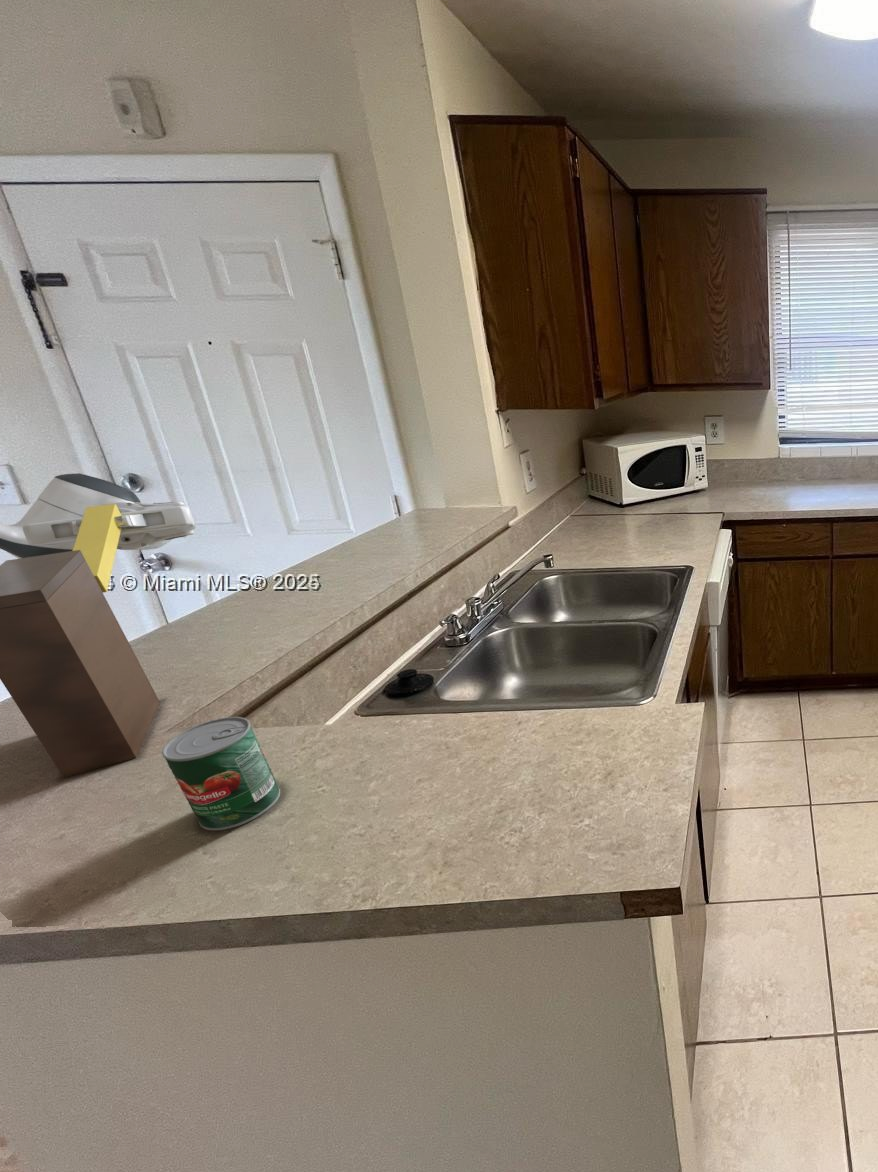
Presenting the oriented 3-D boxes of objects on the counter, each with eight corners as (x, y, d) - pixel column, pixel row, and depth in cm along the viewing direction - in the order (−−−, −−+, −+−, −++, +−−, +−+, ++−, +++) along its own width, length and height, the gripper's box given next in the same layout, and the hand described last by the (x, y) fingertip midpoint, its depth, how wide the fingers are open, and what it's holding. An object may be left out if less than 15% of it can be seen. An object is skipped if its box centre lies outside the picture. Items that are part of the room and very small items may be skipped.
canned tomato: (192, 840, 72) (151, 768, 67) (207, 799, 78) (170, 730, 74) (277, 814, 76) (244, 743, 71) (284, 776, 82) (254, 709, 77)
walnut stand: (63, 777, 81) (-49, 604, 71) (97, 717, 93) (5, 560, 82) (136, 757, 85) (40, 589, 74) (160, 701, 97) (80, 549, 86)
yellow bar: (73, 597, 90) (62, 581, 88) (94, 522, 104) (86, 506, 103) (107, 592, 92) (97, 575, 90) (123, 518, 106) (115, 503, 105)
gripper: (36, 519, 106) (-3, 515, 95) (194, 500, 118) (176, 495, 106) (50, 554, 107) (13, 555, 96) (205, 532, 119) (189, 531, 108)
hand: (100, 523), depth 101 cm, fingers closed on yellow bar, 3 cm apart
